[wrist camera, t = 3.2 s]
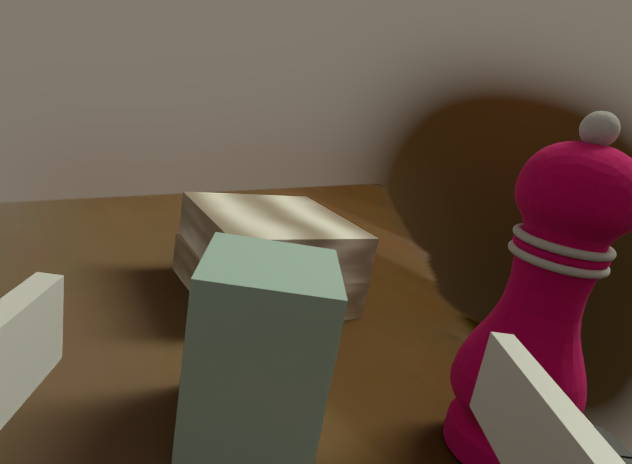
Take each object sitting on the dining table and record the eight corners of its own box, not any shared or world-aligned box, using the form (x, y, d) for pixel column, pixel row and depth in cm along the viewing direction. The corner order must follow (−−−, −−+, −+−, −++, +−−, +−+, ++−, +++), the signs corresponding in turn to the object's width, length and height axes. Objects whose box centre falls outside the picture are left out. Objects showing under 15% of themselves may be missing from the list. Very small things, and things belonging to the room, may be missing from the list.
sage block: (311, 480, 25) (347, 300, 22) (171, 464, 25) (190, 278, 22) (307, 395, 32) (336, 249, 29) (197, 382, 31) (215, 231, 28)
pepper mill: (562, 444, 31) (681, 126, 26) (554, 521, 25) (709, 124, 20) (450, 396, 34) (535, 102, 29) (418, 453, 28) (518, 94, 23)
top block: (225, 291, 36) (232, 239, 35) (179, 232, 47) (183, 191, 46) (369, 282, 43) (378, 238, 42) (300, 232, 53) (306, 196, 52)
